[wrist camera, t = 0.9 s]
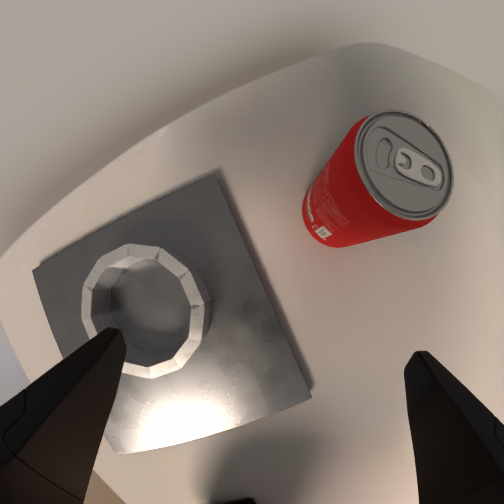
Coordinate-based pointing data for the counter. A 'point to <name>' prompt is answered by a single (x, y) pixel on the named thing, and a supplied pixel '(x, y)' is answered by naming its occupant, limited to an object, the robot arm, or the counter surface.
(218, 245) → the plate
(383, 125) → the beverage can
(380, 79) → the counter surface
